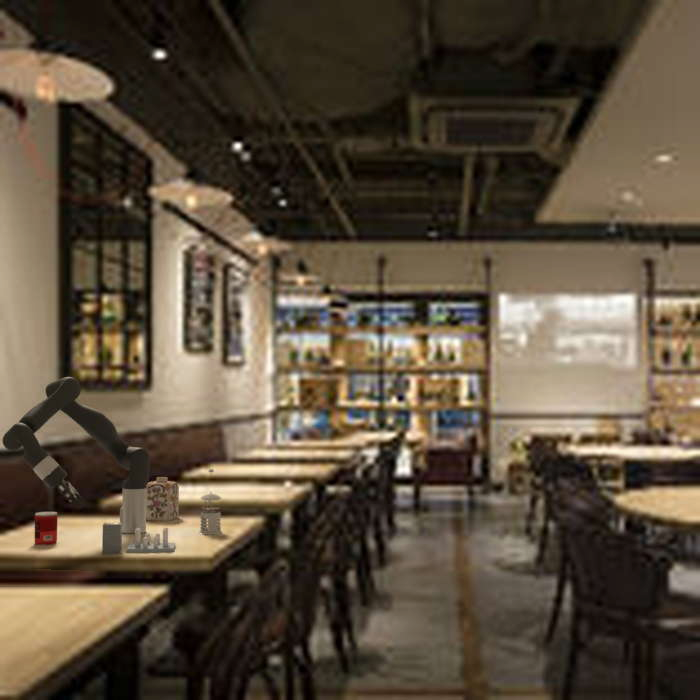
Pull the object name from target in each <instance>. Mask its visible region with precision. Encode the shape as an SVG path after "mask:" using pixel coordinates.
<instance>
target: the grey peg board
mask: <svg viewBox="0 0 700 700" xmlns="http://www.w3.org/2000/svg"><path fill="white" fill-rule="evenodd" d="M141 534H142V533H141V528H136V529H135V534H134V542H130V543H129V544H128V546H127V548H126V553H170V552H171V553H172V552H173V551H174V552H175V549H174V548H176V542H169V527H166V526H165V527H163V529H162V542H161V533H155V536H154V537H153V542H150V541H151V539H150V537H151V536H150V535H151V534H150V533H145V534H144V537H143V538H142V537H141ZM141 538H142V542H141ZM174 552H173V553H174Z"/></svg>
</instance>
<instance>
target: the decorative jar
mask: <svg viewBox="0 0 700 700" xmlns="http://www.w3.org/2000/svg"><path fill="white" fill-rule="evenodd" d="M179 492H180V487H179V485H178V484H177V482H176V481H172V480H171V481H170V480H168V477H165V476H158V477H156V480H154V481H153V480H152V481H150V482H149V481H148V482H147V490H146V522H149V521H150V522H170V521H173V520H176V519H178V518H179V515H180V513H179V510H180V509H179V507H180V501H179V500H180V493H179Z"/></svg>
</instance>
